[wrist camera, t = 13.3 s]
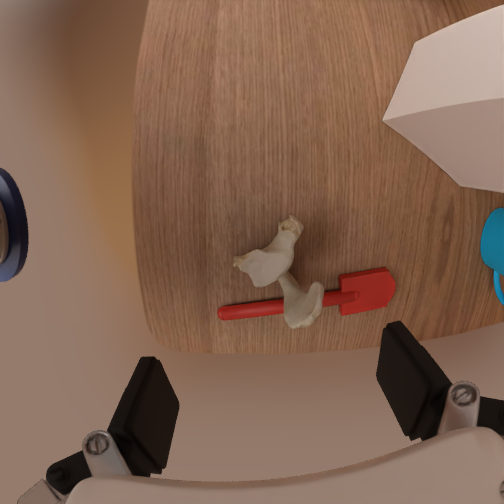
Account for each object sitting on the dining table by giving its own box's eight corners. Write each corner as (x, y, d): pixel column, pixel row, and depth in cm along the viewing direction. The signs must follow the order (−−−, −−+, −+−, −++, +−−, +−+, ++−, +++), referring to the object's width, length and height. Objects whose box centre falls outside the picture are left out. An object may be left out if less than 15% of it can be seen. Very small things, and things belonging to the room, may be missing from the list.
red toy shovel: (222, 327, 28) (220, 335, 27) (213, 292, 27) (212, 299, 26) (390, 300, 27) (395, 306, 26) (392, 265, 26) (398, 270, 25)
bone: (219, 207, 23) (297, 244, 15) (282, 200, 26) (367, 228, 18) (223, 297, 26) (286, 361, 18) (278, 281, 29) (348, 329, 21)
